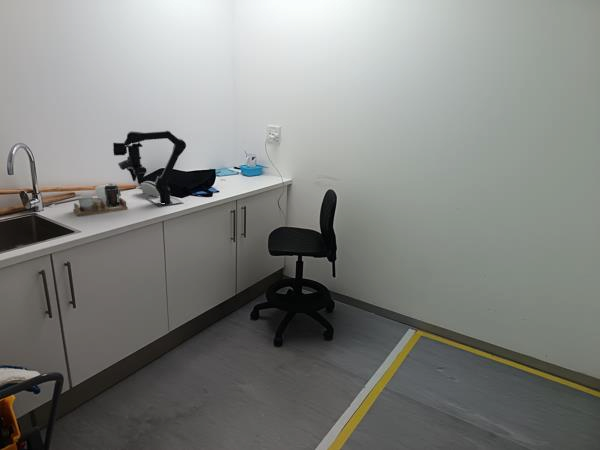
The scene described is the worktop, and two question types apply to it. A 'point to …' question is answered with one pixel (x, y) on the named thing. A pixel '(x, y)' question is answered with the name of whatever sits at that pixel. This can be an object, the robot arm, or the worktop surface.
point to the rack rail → (96, 207)
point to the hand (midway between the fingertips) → (136, 182)
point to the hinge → (149, 188)
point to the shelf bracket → (102, 192)
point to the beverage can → (112, 195)
